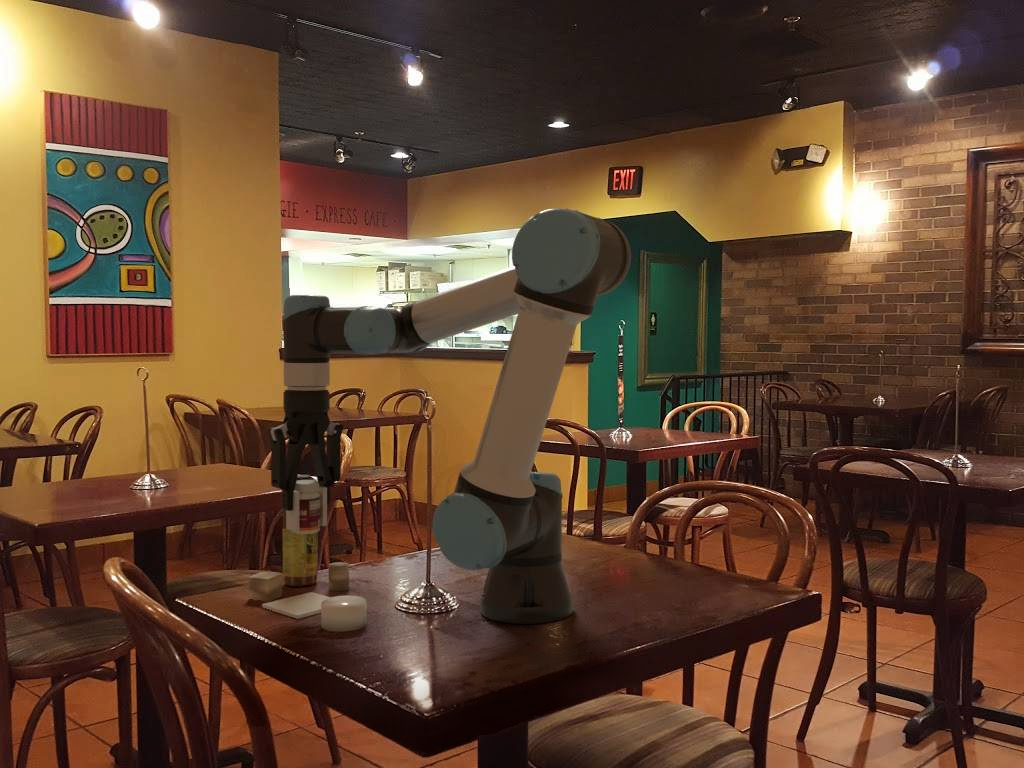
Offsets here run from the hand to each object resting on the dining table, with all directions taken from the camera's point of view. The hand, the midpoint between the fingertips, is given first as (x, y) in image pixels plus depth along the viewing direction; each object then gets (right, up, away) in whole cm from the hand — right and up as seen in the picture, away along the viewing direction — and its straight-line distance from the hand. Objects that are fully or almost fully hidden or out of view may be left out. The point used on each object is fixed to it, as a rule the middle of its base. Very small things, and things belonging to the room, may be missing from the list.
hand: (306, 526), depth 158 cm
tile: (0, -13, 0) cm, 13 cm away
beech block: (-8, -13, +6) cm, 17 cm away
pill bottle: (0, -1, 0) cm, 1 cm away
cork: (+3, -13, +11) cm, 18 cm away
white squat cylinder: (+8, -14, -10) cm, 19 cm away
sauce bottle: (-4, -13, +15) cm, 20 cm away
